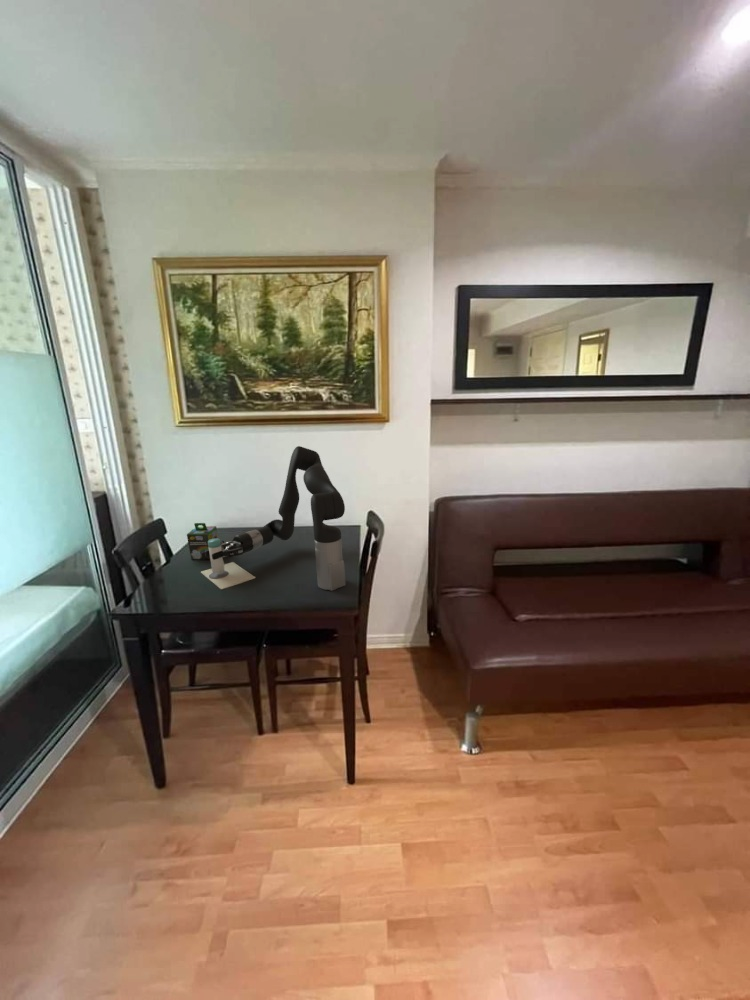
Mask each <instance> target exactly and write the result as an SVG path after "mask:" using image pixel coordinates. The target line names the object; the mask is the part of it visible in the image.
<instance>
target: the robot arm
mask: <svg viewBox="0 0 750 1000" xmlns="http://www.w3.org/2000/svg"><path fill="white" fill-rule="evenodd" d="M298 470H300V471H304V474H303V477H302V478H303V483H304V485H305V487H306V490H307V491H308V492H309V493H310V494H311V498H310V510H311V517H312V524H313V525H312V526H313V539H314V553H315V564H316V565H315V567H316V577H317V578H316V579H317V586H318V588H319V589H321V590H325V591H326V590H328V591H331V592H333V591H335V590H337V589H340V588H342V587H345V586H346V571H345V569H346V568H345V561H344V559H343V543H342V542H343V541H342V532H341V529H340V528H338V527H336V526H332V525H329V524H325V523H324V521H330V520H335V519H338V520H339V519H340V518H342V517H343V516H344V514H345V512H346V507H345V502H344V498H343V497H342V495H341V493H340V492H339V490H338V489H337V488H336V486H335V485H333V484H334V483H332V481H331V479H330V477H329V475H328V473H327V471H326V470H325V467H324V465H323V464H322V461H321V456H320V455H319V453H318V452H317V451H315V450H313V449H310V448H306V447H304V446H300V445H298V446H296V447H294V449H293V451H292V453H291V456H290V460H289V466H288V469H287V475H286V481H285V486H284V492H283V495H282V498H281V501H280V504H279V508H278V514H279V516H281V519H282V520H281V519H273V520H271V521H270V522H268V523H267V524H265V525H264V526H263V527H260V528H255V529H253V530H249V531H246V532H243V533H241V534H237V535H235V536H234V537H233V539H232V540H229V541H226V542H225V540H220V541H221V548H222V551H219V552H216V553H213V554H212V559H213V560H215V559H218V558H221V557H223V558H226V557H227V559H229V558H233V557H236V556H237V557H238V556H241V555H244V554H246V553H249V552H251V551H254V550H257V549H259V548H260V547H262V546H265V545H268V544H270V543H272V542H273V541H274V536H275V537H276V538H278V539H280V540H281V541H287V540H289V539H291V537H292V536H293V534H294V531H295V520H296V519H295V516H296V512H297V509H298V506H299V503H300V493H299V488H298V485H297V477H296V476H297V471H298ZM205 556H206V557H208V556H210V553H209V550H206V551H205Z"/></svg>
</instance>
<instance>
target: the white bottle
mask: <svg viewBox="0 0 750 1000" xmlns="http://www.w3.org/2000/svg"><path fill="white" fill-rule="evenodd" d="M221 541H222V540H221V538H218V539H217V538H216V539H211V540H209V541H208V547H209V553H210V559H209V560H210V567H211V568H212V572H213V573H220V572H223V571H224V570H225V569H224V565H225V562H224V557H221V558H218V559H215V560H213V559H212V554H213V553H216V552H219V551H222V548H221Z"/></svg>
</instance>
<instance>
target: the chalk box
mask: <svg viewBox="0 0 750 1000" xmlns="http://www.w3.org/2000/svg"><path fill="white" fill-rule="evenodd" d="M186 536H187V537H186V538H187V544H188V549H189V555H190V559H191V560H210V556H208V557H206V556H205V551H206V550H209V547H208V541H209V540H211V539H216V538H217V539H219V535H218V529H217V526H215V525H214V526H213V525H211V526H207V524H206V523H205V522H194V529H191V530H190V531H189V532H188V533H187V534H186Z"/></svg>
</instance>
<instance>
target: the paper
mask: <svg viewBox="0 0 750 1000" xmlns="http://www.w3.org/2000/svg"><path fill="white" fill-rule="evenodd" d="M224 569H225V570H224V571H223V572H220V573H213V572H212V567H211V568H209V569H205V570H202V571H200V574H202V575H203V576H204V577H205V578H206V579H208V580H209V581H210V582H212V583H213V584H214V585H215V586H216V587H217V588H219V589H220V590H224V589H225V590H226V589H228V588H230V587H234V586H236V585H240V584H243V583H245V582H248V581H250V580H251V581H252V580H254V579H256V576H254V575H253V574H251V572H250V573H249V572H248V571H247V570H245V569H244V568H242V567H241V566H239V565H238V564H236V562H234V561H231V562H228V563H224Z"/></svg>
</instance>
